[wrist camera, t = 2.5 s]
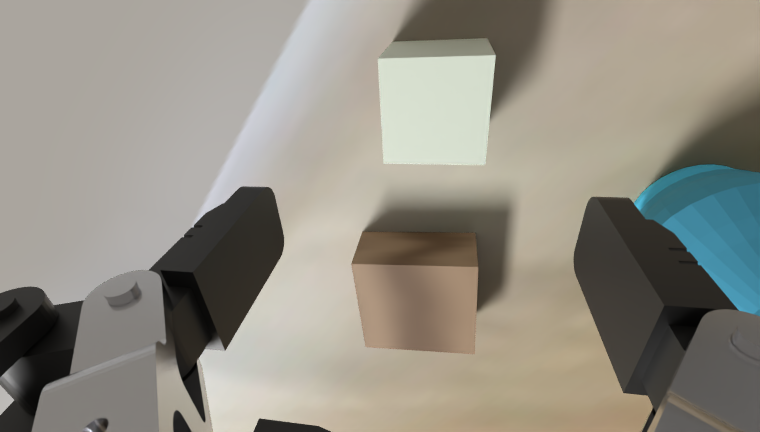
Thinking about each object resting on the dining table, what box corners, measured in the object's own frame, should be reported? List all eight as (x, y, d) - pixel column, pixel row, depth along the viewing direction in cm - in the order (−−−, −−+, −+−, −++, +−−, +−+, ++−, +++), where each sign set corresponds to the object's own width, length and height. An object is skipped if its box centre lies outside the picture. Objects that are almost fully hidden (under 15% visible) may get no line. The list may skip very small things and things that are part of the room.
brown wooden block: (475, 230, 27) (478, 267, 24) (472, 312, 31) (474, 354, 28) (363, 229, 28) (351, 264, 25) (374, 308, 33) (365, 346, 29)
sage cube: (487, 37, 20) (495, 55, 16) (479, 130, 23) (485, 165, 19) (392, 41, 21) (377, 58, 17) (395, 129, 24) (383, 163, 20)
